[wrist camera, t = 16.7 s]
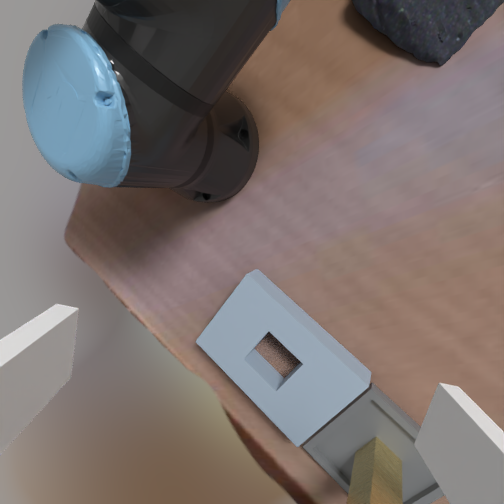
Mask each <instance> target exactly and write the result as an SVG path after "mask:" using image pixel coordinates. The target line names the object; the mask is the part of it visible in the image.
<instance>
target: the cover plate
mask: <svg viewBox="0 0 504 504" xmlns="http://www.w3.org/2000/svg"><path fill="white" fill-rule="evenodd" d="M268 332H270V333H271V334H272V335H273V336H274V337H275V338H276V339H277V340H279V341H280V342H281V343H282V344H283V345H284V346H285V347H286V348H287V349H288V350H289V351H290V352H291V353H292V354H293V355H294V356H295V357H296V358H297V359H298V360H299V361H300V363H299V364H298V365H297V366H296V367H295V368H294V369H293V370H292V371H291V372H290V373H289V374H288V375H287V376H286V377H285V378H284V377H283V376H282V375H281V374H280V373H279V372H277V371H276V370H275V369H274V368H273V367H272V366H271V365H270V364H269V363H268V362H267V361H266V360H265V359H264V358H263V357H262V356H261V355H260V354H259V353H258V352H257V351H256V350H255V349H254V348H255V347H256V346H257V345H258V344H259V343H260V341H261V340H262V339H263V338H264V337H265V336H266V335H267V333H268ZM196 343H197V344H198V345H199V346H200V347H201V348H202V349H203V350H204V351H205V352H206V353H207V354H208V355H209V356H210V357H211V358H212V359H213V360H214V361H215V362H216V363H217V364H218V366H219V367H220V368H221V369H222V370H223V371H224V372H225V373H226V374H227V375H228V376H229V377H230V378H231V379H232V380H233V381H234V382H235V383H236V384H237V385H238V386H239V387H240V388H241V389H242V390H243V391H244V393H245V394H246V395H247V396H248V397H249V398H250V399H251V400H252V401H253V402H254V403H255V404H256V405H257V406H258V407H259V408H260V409H261V410H262V411H263V412H264V413H265V414H266V415H267V416H268V417H269V418H270V420H271V421H272V422H273V423H274V424H275V425H276V426H277V427H278V428H279V429H280V430H281V431H282V432H283V433H284V434H285V435H286V436H287V437H288V438H289V439H290V440H291V441H292V442H293V443H294V444H295V445H296V447H299V446H300V445H301V444H302V443H303V442H305V441H306V440H307V439H308V438H309V437H310V436H312V435H313V434H314V433H315V432H316V431H318V430H319V429H320V428H321V427H322V426H323V425H325V424H326V423H327V422H328V421H329V420H330V419H332V418H333V417H334V416H335V415H336V414H338V413H339V412H340V411H341V410H342V409H343V408H345V407H346V406H347V405H348V404H349V403H350V402H352V401H353V400H354V399H355V398H356V397H358V396H359V395H360V394H361V393H362V392H363V391H365V390H366V389H367V388H368V387H369V384H370V378H371V371H370V370H368V369H367V368H366V367H365V366H364V365H363V364H362V363H361V362H360V361H359V360H357V359H356V358H355V357H354V356H353V355H352V354H351V353H350V352H349V351H348V350H346V349H345V348H344V347H343V346H342V345H341V344H340V343H339V342H338V341H336V340H335V339H334V338H333V337H332V336H331V335H330V334H329V333H328V332H327V331H325V330H324V329H323V328H322V327H321V326H320V325H319V324H318V323H317V322H316V321H314V320H313V319H312V318H311V317H310V316H309V315H308V314H307V313H306V312H305V311H303V310H302V309H301V308H300V307H299V306H298V305H297V304H296V303H295V302H294V301H292V300H291V299H290V298H289V297H288V296H287V295H286V294H285V293H284V292H283V291H281V290H280V289H279V288H278V287H277V286H276V285H275V284H274V283H273V282H271V281H270V280H269V279H268V278H267V277H266V276H265V275H264V274H263V273H262V272H260V271H259V270H258V269H256V270H254V271H252V272H250V273H248V274H246V276H245V277H244V278H243V280H242V281H241V282H240V284H239V285H238V286H237V288H236V289H235V290H234V292H233V293H232V294H231V295H230V297H229V298H228V299H227V301H226V302H225V303H224V305H223V306H222V307H221V309H220V310H219V311H218V313H217V314H216V315H215V317H214V318H213V319H212V320H211V322H210V323H209V324H208V326H207V327H206V328H205V330H204V331H203V332H202V334H201V335H200V336H199V338H198V339H197V340H196Z"/></svg>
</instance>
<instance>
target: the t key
mask: <svg viewBox="0 0 504 504" xmlns="http://www.w3.org/2000/svg"><path fill="white" fill-rule="evenodd" d="M347 504H403V496H402V460H401V459H400V458H399V457H397V456H396V455H395V454H394V453H393V452H392V451H391V450H390V449H389V448H388V447H387V446H386V445H385V444H384V443H383V442H382V441H381V440H380V439H379V438H378V437H377V436H376V437H375V438H373V439H372V440H371V441H369V442H368V443H367V444H365V445H364V446H363V447H361V448H360V449H359V450H358V451H356V452H355V458H354V464H353V470H352V476H351V482H350V487H349V493H348V499H347Z"/></svg>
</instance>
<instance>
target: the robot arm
mask: <svg viewBox="0 0 504 504" xmlns="http://www.w3.org/2000/svg"><path fill="white" fill-rule="evenodd" d="M289 2H290V0H96V1H95V3H94V5H93V8H92V10H91V12H90V14H89V16H88V18H87V20H86V22H85V24H84V26H83V28H82V29H80V28H79V27H77V26H72V25H63V24H55V25H52V26H50V27H49V28H48V30H42V31H41V32H40V33H39V34H38V35H37V36H36V37H35V39H34V40H33V42H32V44H31V46H30V48H29V50H28V53H27V56H26V60H25V64H24V70H23V102H24V109H25V113H26V117H27V123H28V126H29V129H30V132H31V135H32V137H33V140H34V142H35V144H36V146H37V148H38V149H39V151H40V153H41V155H42V156H43V157H44V159H45V160H46V161H47V163H48V164H49V165H50V166H51V167H52V168H53V169H54V170H55V171H57V172H58V173H59V174H61V175H62V176H64V177H65V178H67V179H69V180H72V181H75V182H79V183H86V184H94V185H99V186H102V187H140V188H170V189H171V190H173V191H175V192H177V193H178V194H180V195H182V196H183V197H185V198H187V199H190V200H193V201H197V202H218V201H222V200H225V199H228V198H230V197H231V196H233V195H235V194H236V193H237V192H238V191H240V190H241V189H242V188H243V187H244V185H245V184H246V183H247V181H248V180H249V178H250V177H251V175H252V173H253V171H254V168H255V165H256V162H257V158H258V151H259V138H258V131H257V127H256V124H255V121H254V119H253V117H252V115H251V113H250V111H249V110H248V108H247V107H246V106H245V105H244V104H243V103H242V102H241V101H240V100H239V99H238V98H236V97H235V96H233V95H231V94H230V93H228V92H226V89H227V88H228V87H229V85H230V84H231V83H232V81H233V80H234V78H235V77H236V76H237V74H238V73H239V72H240V70H241V69H242V68H243V66H244V65H245V64H246V62H247V61H248V60H249V58H250V57H251V55H252V54H253V53H254V51H255V50H256V49H257V47H258V46H259V45H260V43H261V42H262V41H263V39H264V38H265V36H266V35H267V34H268V32H269V31H271V30H273V29H274V28H275V27H276V26H277V24H278V21H279V20H280V17H281V14H282V12H283V11H284V9H285V8H286V6H287V5H288V3H289ZM78 313H79V308H75V307H70V306H65V305H60V304H56V305H54V306H53V307H51V308H49V309H48V310H46V311H45V312H43V313H42V314H40V315H38V316H37V317H35V318H34V319H32V320H31V321H29V322H28V323H26V324H24V325H23V326H21V327H20V328H18V329H17V330H15V331H14V332H12V333H10V334H9V335H7V336H5V337H4V338H2V339H1V340H0V455H1V454H2V453H3V452H4V450H5V449H6V448H7V447H8V446H9V445H10V444H11V443H12V442H13V441H14V439H15V438H16V437H17V436H18V435H19V434H20V433H21V432H22V431H23V430H24V429H25V428H26V426H27V425H28V424H29V423H30V422H31V421H32V420H33V419H34V418H35V417H36V416H37V414H38V413H39V412H40V411H41V410H42V409H43V408H44V407H45V406H46V405H47V403H48V402H49V401H50V400H51V399H52V398H53V397H54V396H55V395H56V394H57V393H58V391H59V390H60V389H61V388H62V387H63V386H64V384H66V383H67V382H68V380H69V379H70V378H71V374H72V366H73V357H74V348H75V340H76V331H77V322H78ZM414 445H415V447H416V449H417V450H418V452H419V454H420V455H421V457H422V459H423V460H424V462H425V463H426V465H427V467H428V468H429V470H430V472H431V473H432V475H433V477H434V478H435V480H436V482H437V483H438V485H439V486H440V488H441V490H442V491H443V493H444V495H445V496H446V498H447V500H448V501H449V503H450V504H504V432H503V431H502V430H501V429H500V428H499V427H498V426H497V425H496V424H495V423H494V422H493V421H492V420H491V419H490V418H489V417H488V416H487V415H486V414H485V413H484V412H483V411H482V410H481V409H480V408H479V407H478V406H477V405H476V404H475V403H474V402H473V401H472V400H471V399H470V398H469V397H468V396H467V395H466V394H465V393H464V392H463V391H462V390H461V389H460V388H459V387H458V386H453V385H448V384H443V383H439V384H438V386H437V389H436V391H435V394H434V396H433V399H432V401H431V404H430V406H429V409H428V411H427V414H426V416H425V419H424V421H423V424H422V426H421V429H420V431H419V434H418V436H417V438H416V441H415V443H414Z"/></svg>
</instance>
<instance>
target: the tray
mask: <svg viewBox="0 0 504 504" xmlns="http://www.w3.org/2000/svg"><path fill="white" fill-rule="evenodd" d="M420 429H421V427H420V426H419V425H418V424H417V423H416V422H415V421H414V420H413V419H412V418H410V417H409V416H408V415H407V414H406V413H405V412H404V411H403V410H402V409H401V408H400V407H398V406H397V405H396V404H395V403H394V402H393V401H392V400H391V399H390V398H389V397H387V396H386V395H385V394H384V393H383V392H382V391H381V390H380V389H379V388H378V387H377V386H375V385H374V384H373V383H371V384H370V385H369V387H368V388H367V389H366V390H365V391H363V392H362V393H361V394H360V395H359V396H358V397H356V398H355V399H354V400H353V401H352V402H350V403H349V404H348V405H347V406H346V407H345V408H343V409H342V410H341V411H340V412H339V413H338V414H336V415H335V416H334V417H333V418H332V419H330V420H329V421H328V422H327V423H326V424H325V425H323V426H322V427H321V428H320V429H319V430H318V431H316V432H315V433H314V434H313V435H312V436H310V437H309V438H308V439H307V440H306V441H305V442H304V444H303V448H304V449H305V450H306V451H307V452H308V453H309V454H310V455H311V456H312V457H313V458H314V459H315V460H316V461H317V462H318V463H319V464H320V465H321V466H322V467H323V468H324V469H325V470H326V472H327V473H328V474H329V475H330V476H331V477H332V478H333V479H334V480H335V481H336V482H337V483H338V484H339V485H340V486H341V487H342V488H343V489H344V490H345V491H346V492H347V493H349V487H350V482H351V476H352V470H353V464H354V458H355V452H356V451H358V450H359V449H360V448H361V447H363V446H364V445H365V444H367V443H368V442H369V441H371V440H372V439H373V438H375V437H376V436H377V437H378V438H379V439H380V440H381V441H382V442H383V443H384V444H385V445H386V446H387V447H388V448H389V449H390V450H391V451H392V452H393V453H394V454H395V455H396V456H397V457H399V458H400V459H401V460H402V496H403V504H430V503H432V502H434V501H435V500H437V499H439V498H441V497H442V496H444V493H443V491H442V490H441V488H440V486H439V485H438V483H437V482H436V480H435V478H434V477H433V475H432V473H431V472H430V470H429V468H428V467H427V465H426V463H425V462H424V460H423V459H422V457H421V455H420V454H419V452H418V450H417V449H416V447H415V445H414V443H415V441H416V438H417V436H418V434H419V431H420Z"/></svg>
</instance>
